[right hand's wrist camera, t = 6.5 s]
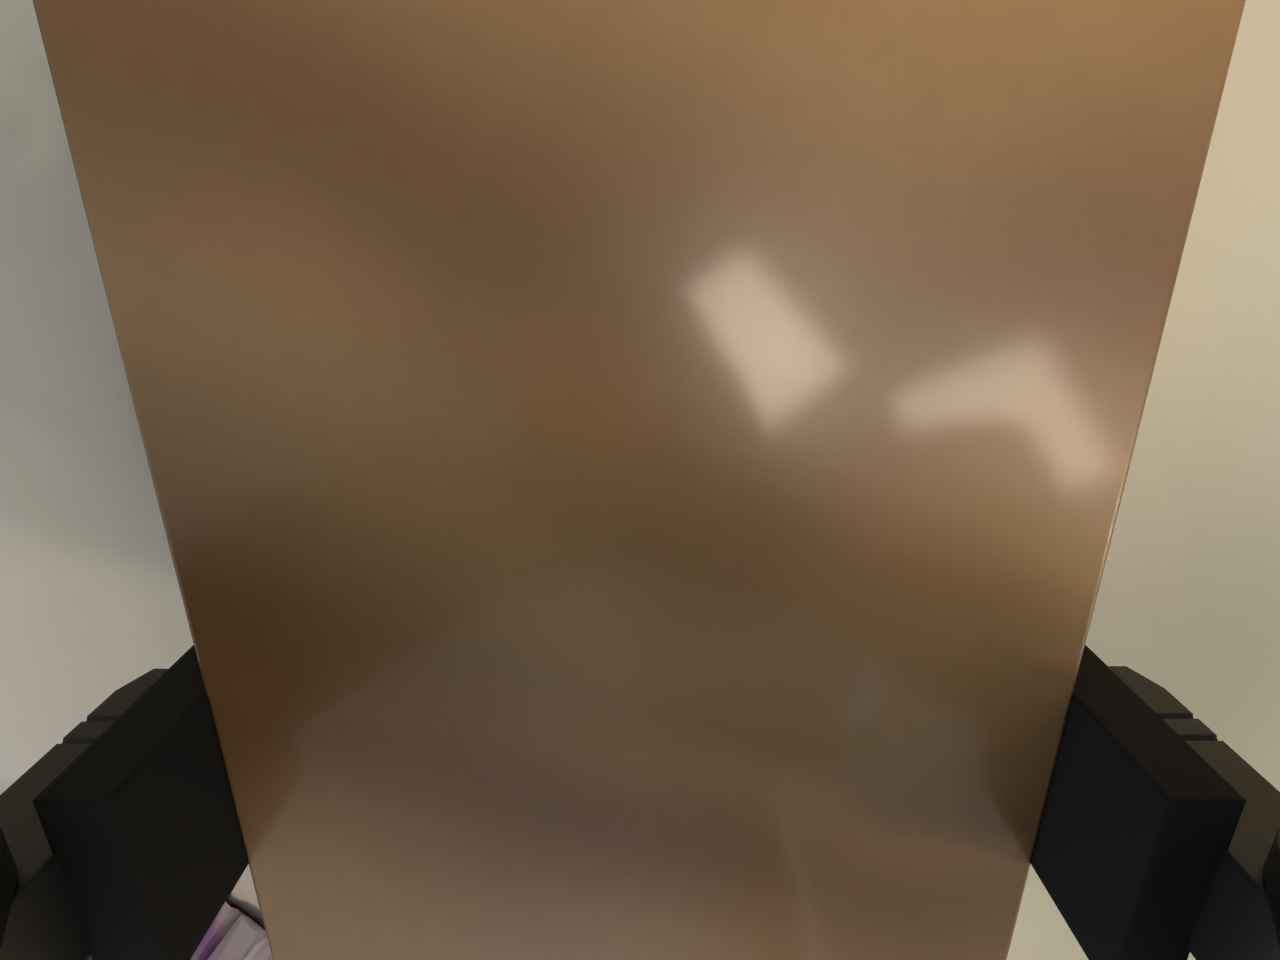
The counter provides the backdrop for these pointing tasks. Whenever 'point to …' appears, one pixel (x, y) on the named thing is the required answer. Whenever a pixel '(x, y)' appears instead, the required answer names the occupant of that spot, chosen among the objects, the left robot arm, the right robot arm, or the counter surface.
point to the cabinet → (639, 440)
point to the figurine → (232, 938)
